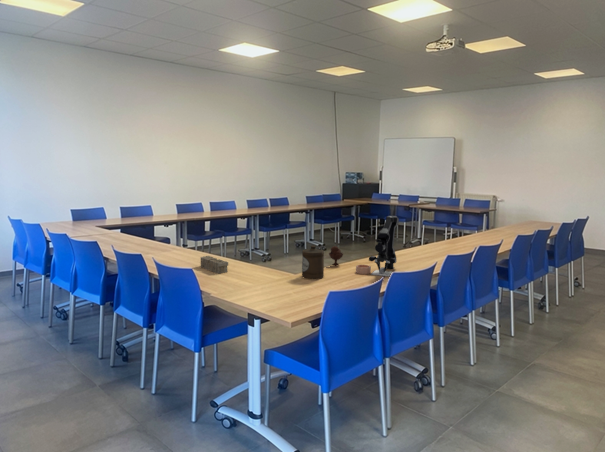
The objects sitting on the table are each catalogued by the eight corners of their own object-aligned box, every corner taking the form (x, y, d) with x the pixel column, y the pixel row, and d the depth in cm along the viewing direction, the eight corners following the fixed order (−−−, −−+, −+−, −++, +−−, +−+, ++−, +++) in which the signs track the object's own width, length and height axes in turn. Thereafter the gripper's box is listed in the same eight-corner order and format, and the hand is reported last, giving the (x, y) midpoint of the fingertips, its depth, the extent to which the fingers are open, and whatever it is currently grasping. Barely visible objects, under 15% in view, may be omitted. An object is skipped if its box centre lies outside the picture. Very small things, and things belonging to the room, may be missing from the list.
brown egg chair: (342, 267, 326) (342, 247, 324) (327, 266, 328) (328, 246, 326) (343, 264, 336) (344, 245, 334) (329, 263, 338) (329, 244, 336)
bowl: (358, 270, 315) (358, 264, 314) (371, 272, 311) (372, 265, 310) (354, 273, 306) (354, 266, 305) (368, 275, 302) (368, 268, 301)
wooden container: (301, 274, 301) (301, 243, 298) (322, 274, 303) (322, 243, 300) (302, 279, 287) (303, 247, 284) (325, 279, 288) (325, 247, 285)
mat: (374, 270, 315) (374, 270, 315) (393, 273, 309) (393, 272, 309) (369, 275, 302) (369, 274, 302) (389, 277, 297) (389, 276, 296)
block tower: (199, 268, 320) (218, 274, 298) (199, 256, 319) (218, 262, 297) (209, 266, 325) (228, 272, 303) (209, 255, 324) (228, 261, 302)
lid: (375, 270, 313) (376, 265, 313) (392, 272, 309) (392, 267, 308) (371, 274, 303) (371, 269, 302) (388, 276, 298) (388, 271, 297)
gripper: (367, 250, 300) (366, 272, 302) (393, 253, 292) (392, 275, 294) (371, 248, 310) (370, 269, 312) (397, 250, 303) (396, 272, 305)
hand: (382, 271), depth 305 cm, fingers open, 3 cm apart
